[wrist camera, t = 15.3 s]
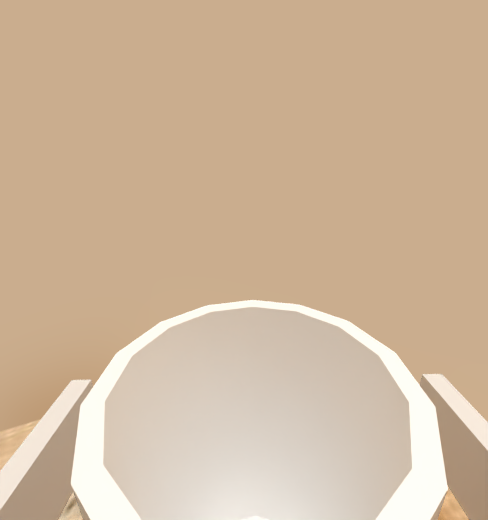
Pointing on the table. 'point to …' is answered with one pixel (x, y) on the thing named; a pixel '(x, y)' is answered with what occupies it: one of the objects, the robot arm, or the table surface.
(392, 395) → the foam cup
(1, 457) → the table surface
